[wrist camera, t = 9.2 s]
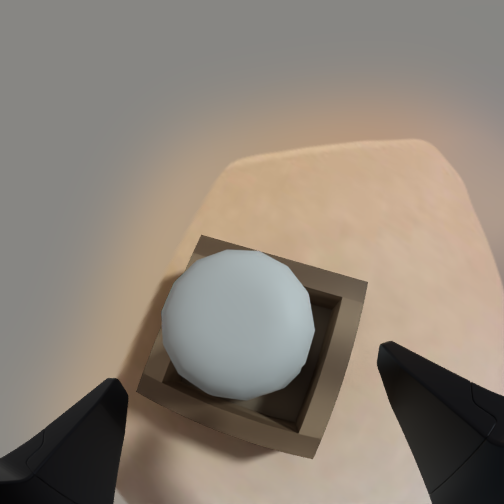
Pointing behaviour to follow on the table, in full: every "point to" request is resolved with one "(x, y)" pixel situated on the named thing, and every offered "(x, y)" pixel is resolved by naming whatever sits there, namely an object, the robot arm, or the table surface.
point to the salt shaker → (238, 324)
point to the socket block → (296, 392)
